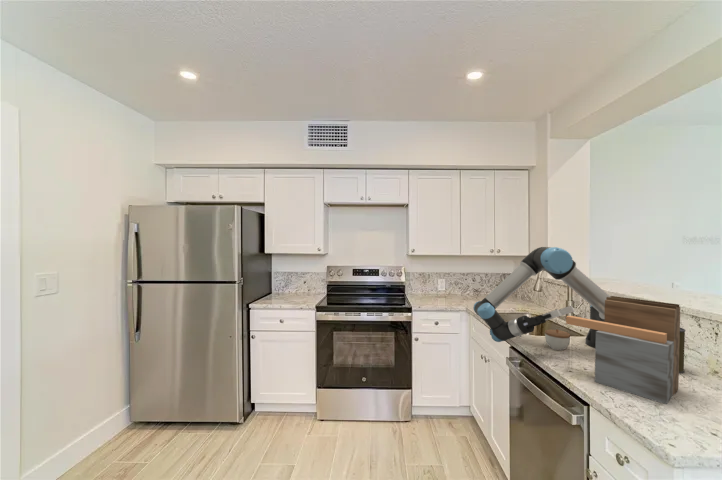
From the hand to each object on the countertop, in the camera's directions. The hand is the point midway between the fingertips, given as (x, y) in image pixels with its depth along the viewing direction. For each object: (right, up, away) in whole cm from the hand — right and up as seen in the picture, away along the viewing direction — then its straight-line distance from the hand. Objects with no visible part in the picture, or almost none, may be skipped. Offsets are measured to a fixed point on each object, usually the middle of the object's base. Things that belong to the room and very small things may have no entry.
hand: (566, 310), depth 134 cm
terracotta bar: (+9, -6, -12) cm, 16 cm away
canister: (+44, -25, +2) cm, 51 cm away
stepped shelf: (+16, -25, -15) cm, 33 cm away
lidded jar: (+12, -25, +25) cm, 37 cm away
